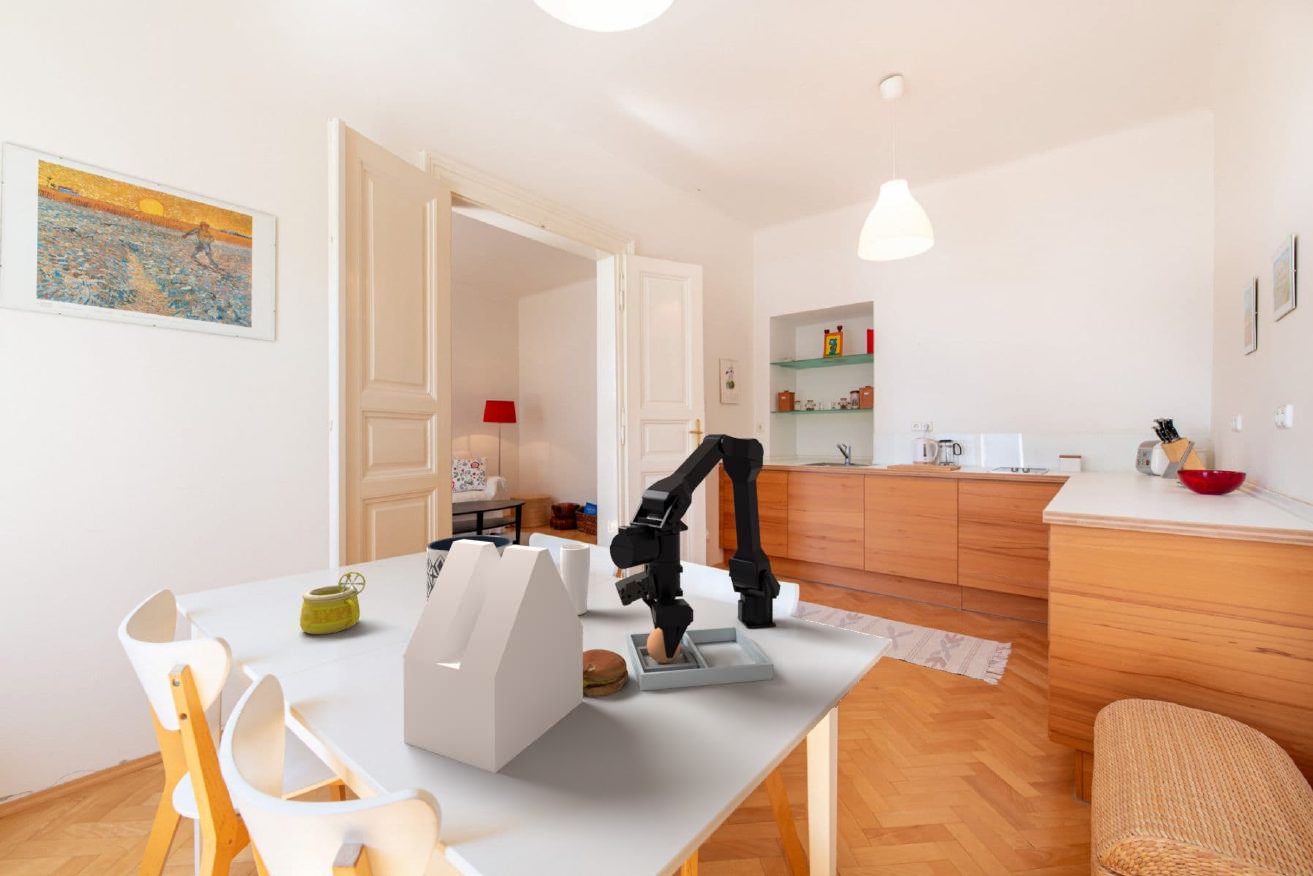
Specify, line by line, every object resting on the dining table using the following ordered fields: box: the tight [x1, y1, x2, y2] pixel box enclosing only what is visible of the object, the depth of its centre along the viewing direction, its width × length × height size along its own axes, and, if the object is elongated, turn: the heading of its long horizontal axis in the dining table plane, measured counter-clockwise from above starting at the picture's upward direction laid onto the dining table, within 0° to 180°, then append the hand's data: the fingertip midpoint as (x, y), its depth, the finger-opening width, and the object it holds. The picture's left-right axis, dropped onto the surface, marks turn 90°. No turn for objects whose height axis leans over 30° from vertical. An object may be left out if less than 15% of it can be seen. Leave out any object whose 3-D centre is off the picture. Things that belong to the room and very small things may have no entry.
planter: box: [425, 534, 514, 602], centre depth 121 cm, size 18×18×16 cm
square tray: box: [635, 643, 698, 673], centre depth 95 cm, size 10×10×2 cm
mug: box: [299, 571, 366, 635], centre depth 113 cm, size 13×11×12 cm
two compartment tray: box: [626, 625, 774, 692], centre depth 96 cm, size 22×18×2 cm
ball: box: [647, 628, 681, 663], centre depth 96 cm, size 6×6×6 cm
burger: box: [583, 648, 629, 698], centre depth 88 cm, size 10×9×5 cm
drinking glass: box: [559, 543, 591, 616], centre depth 123 cm, size 7×7×15 cm
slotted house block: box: [403, 539, 584, 774], centre depth 77 cm, size 19×15×25 cm
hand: (664, 647), depth 95 cm, fingers open, 9 cm apart
